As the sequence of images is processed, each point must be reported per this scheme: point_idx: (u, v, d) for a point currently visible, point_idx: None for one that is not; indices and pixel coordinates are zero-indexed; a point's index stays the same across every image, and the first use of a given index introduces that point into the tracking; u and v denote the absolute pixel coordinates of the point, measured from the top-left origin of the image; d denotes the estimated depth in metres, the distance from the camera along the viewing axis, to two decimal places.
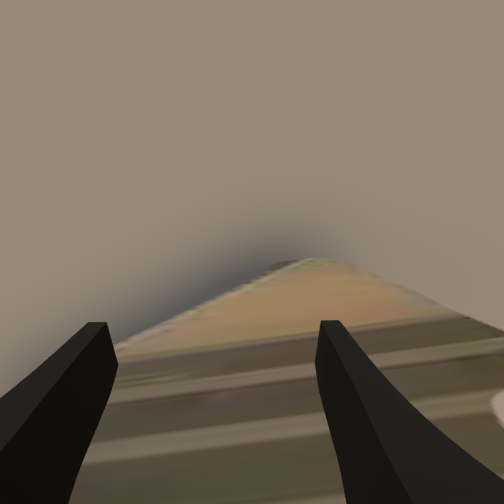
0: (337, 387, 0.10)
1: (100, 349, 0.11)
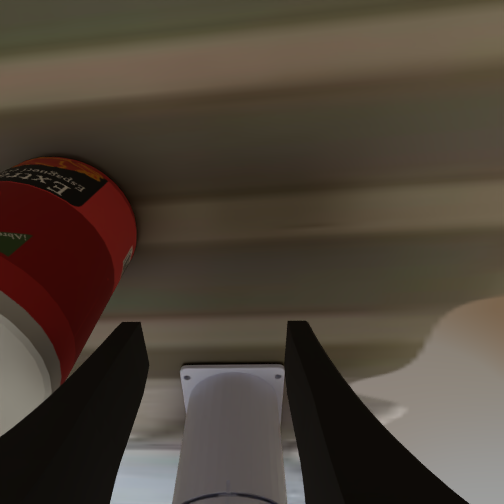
0: (298, 387, 0.10)
1: (135, 349, 0.11)
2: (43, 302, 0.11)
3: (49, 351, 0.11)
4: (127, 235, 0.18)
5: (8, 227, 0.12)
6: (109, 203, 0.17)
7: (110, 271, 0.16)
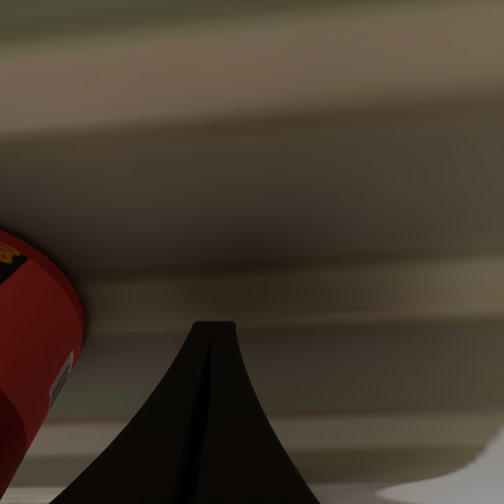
0: None
1: None
2: None
3: None
4: (59, 344, 0.11)
5: None
6: (22, 302, 0.10)
7: (13, 432, 0.09)
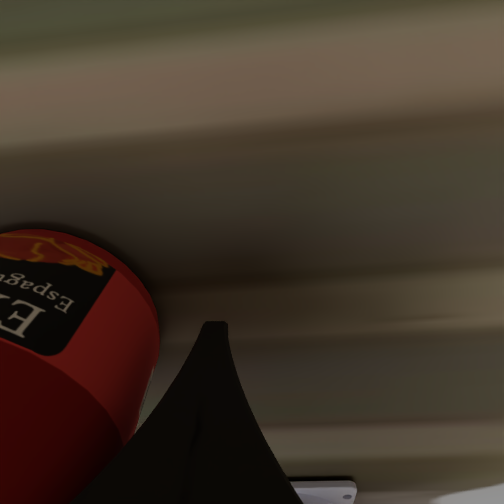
0: None
1: None
2: None
3: None
4: (146, 360, 0.11)
5: None
6: (116, 317, 0.10)
7: None
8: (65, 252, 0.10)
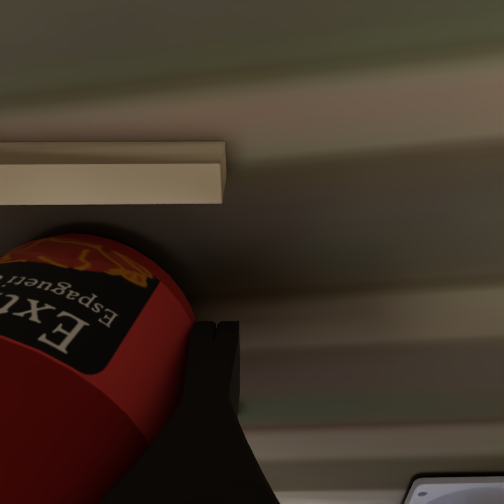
0: None
1: None
2: None
3: None
4: None
5: None
6: (159, 332, 0.09)
7: None
8: (111, 261, 0.10)
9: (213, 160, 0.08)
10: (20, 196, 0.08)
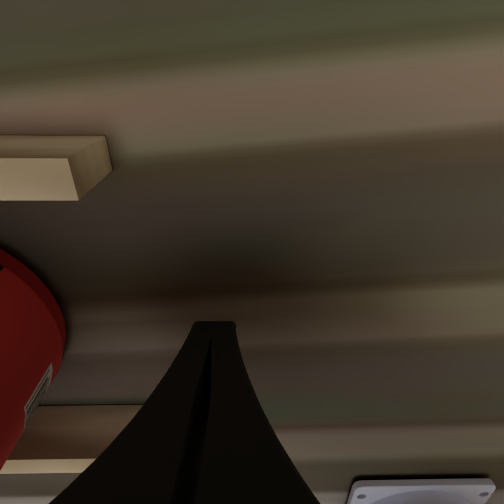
0: None
1: None
2: None
3: None
4: (36, 358, 0.11)
5: None
6: None
7: None
8: None
9: (64, 155, 0.08)
10: None
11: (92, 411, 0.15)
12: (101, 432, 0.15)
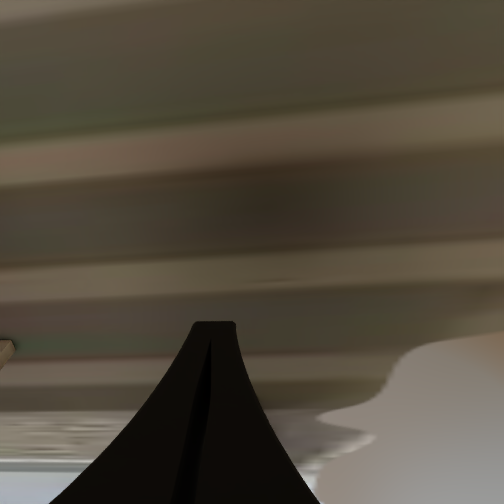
0: None
1: None
2: None
3: None
4: None
5: None
6: None
7: None
8: None
9: None
10: None
11: None
12: None
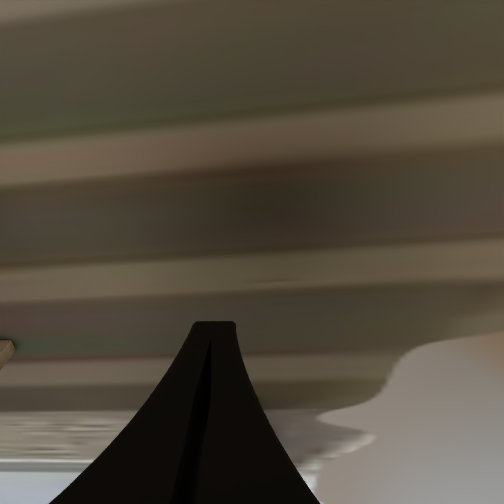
0: None
1: None
2: None
3: None
4: None
5: None
6: None
7: None
8: None
9: None
10: None
11: None
12: None
